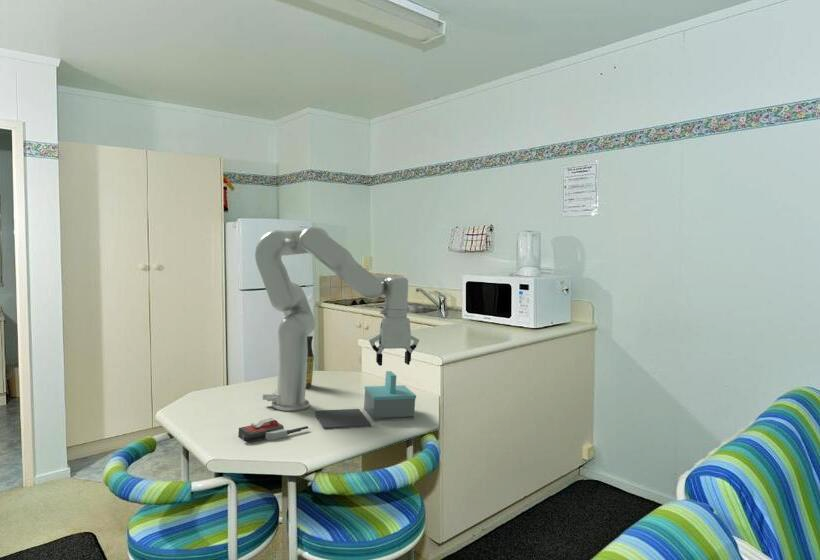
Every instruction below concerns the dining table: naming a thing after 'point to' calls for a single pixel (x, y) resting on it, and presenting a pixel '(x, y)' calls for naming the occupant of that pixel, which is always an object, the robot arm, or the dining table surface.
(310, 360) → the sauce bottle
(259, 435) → the walkie-talkie
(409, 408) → the tub
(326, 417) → the mat
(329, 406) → the dining table surface
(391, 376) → the lid
